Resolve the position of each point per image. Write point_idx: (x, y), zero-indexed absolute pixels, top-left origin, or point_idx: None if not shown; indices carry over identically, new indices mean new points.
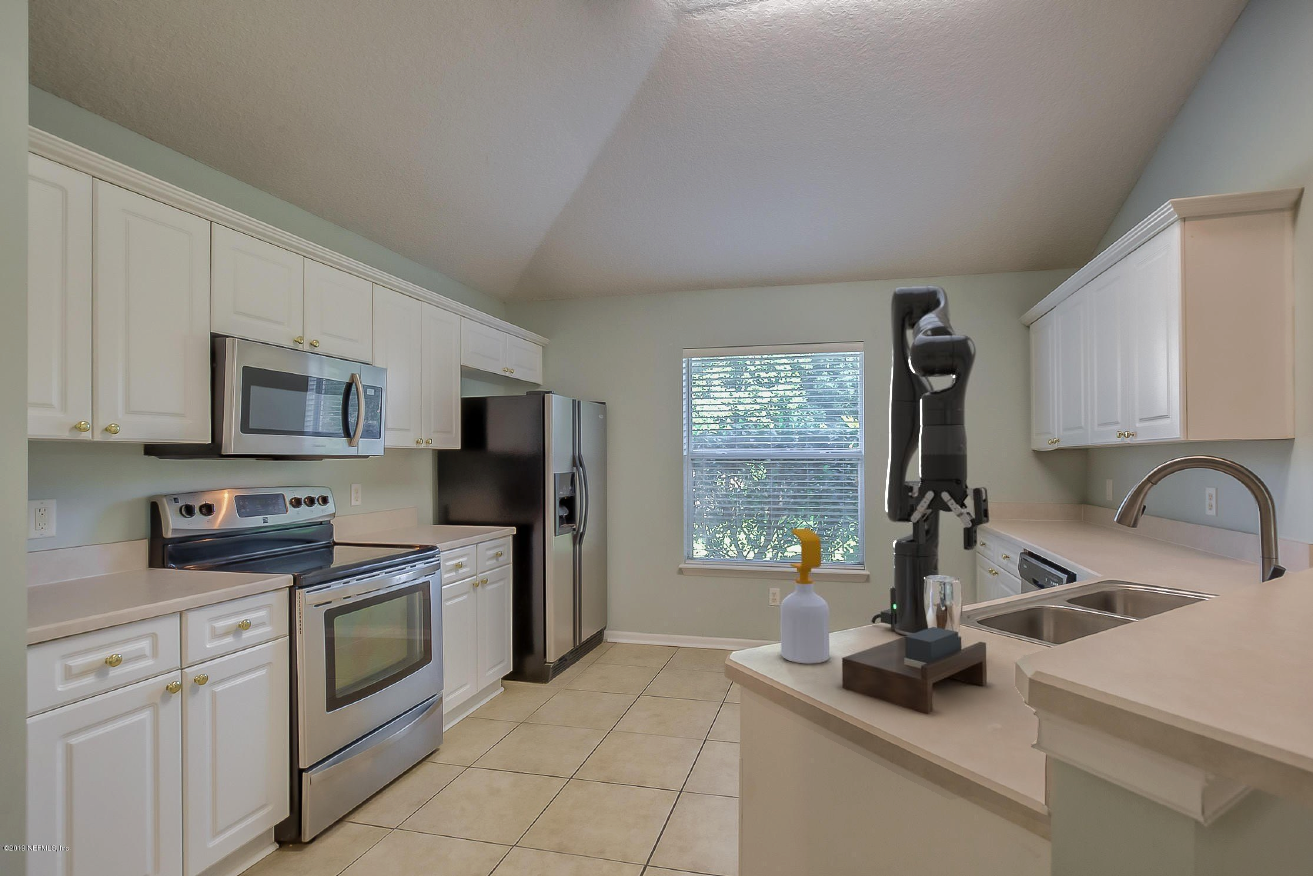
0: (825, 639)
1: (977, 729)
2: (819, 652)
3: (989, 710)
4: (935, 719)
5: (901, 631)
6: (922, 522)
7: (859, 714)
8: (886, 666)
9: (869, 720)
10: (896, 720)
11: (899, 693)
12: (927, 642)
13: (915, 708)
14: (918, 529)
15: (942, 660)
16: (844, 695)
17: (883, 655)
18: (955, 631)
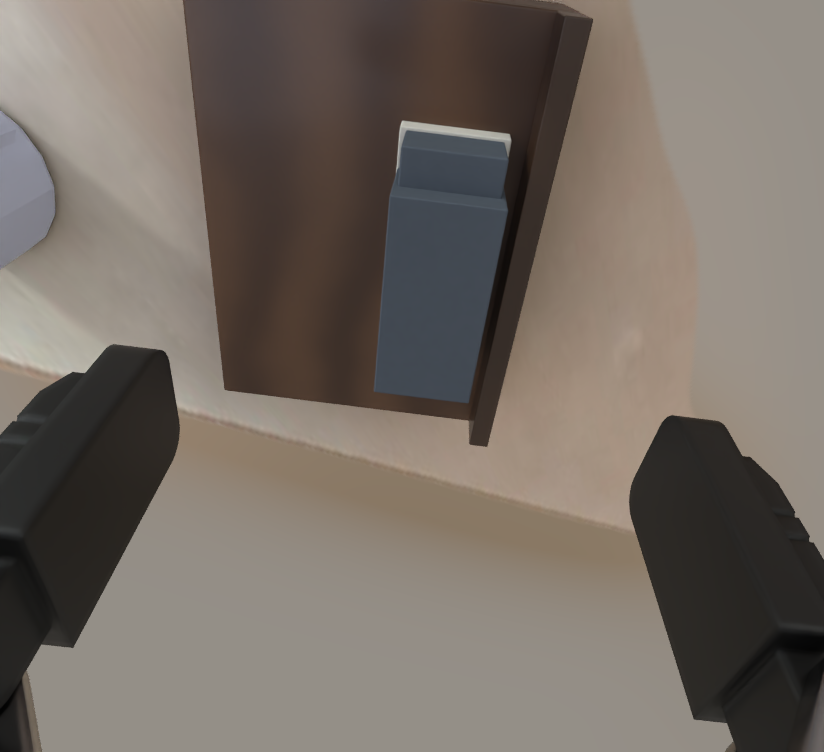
0: (5, 202)
1: (596, 384)
2: (37, 219)
3: (605, 258)
4: (505, 386)
5: None
6: (17, 573)
7: (371, 446)
8: (354, 386)
9: (401, 459)
10: (442, 433)
11: None
12: (456, 399)
13: None
14: (105, 573)
15: (503, 374)
16: None
17: (290, 301)
18: (496, 212)
